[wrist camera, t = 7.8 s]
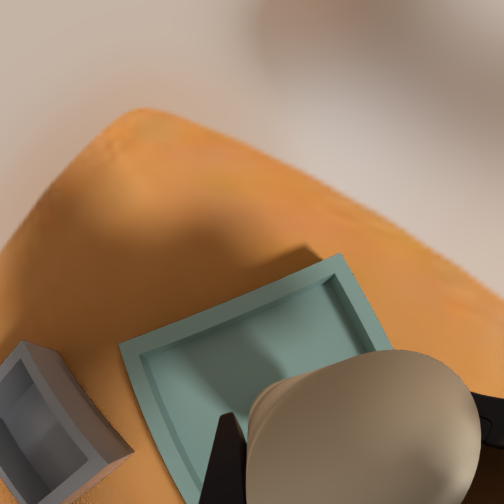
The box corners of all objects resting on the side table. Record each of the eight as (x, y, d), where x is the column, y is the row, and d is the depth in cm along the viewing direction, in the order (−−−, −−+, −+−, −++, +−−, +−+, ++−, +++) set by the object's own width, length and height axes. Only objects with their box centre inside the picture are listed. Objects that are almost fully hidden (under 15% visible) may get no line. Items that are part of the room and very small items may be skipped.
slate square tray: (135, 451, 15) (108, 464, 11) (64, 508, 12) (34, 522, 8) (56, 351, 17) (22, 339, 13) (-1, 415, 14) (-36, 412, 11)
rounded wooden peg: (327, 454, 12) (462, 537, 2) (245, 454, 12) (239, 580, 2) (330, 379, 14) (480, 340, 4) (250, 377, 14) (253, 349, 4)
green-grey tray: (420, 444, 15) (437, 447, 13) (222, 540, 12) (219, 555, 10) (331, 266, 20) (340, 252, 18) (131, 349, 17) (117, 343, 15)
